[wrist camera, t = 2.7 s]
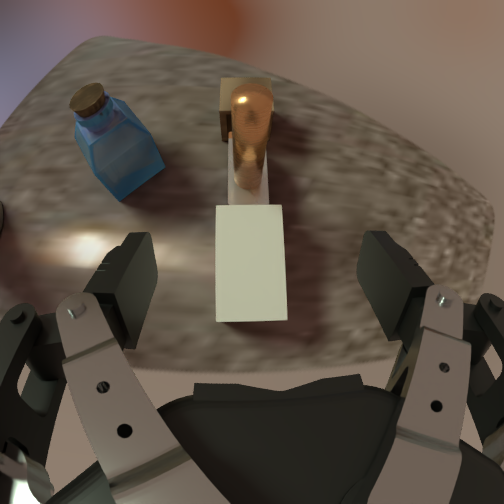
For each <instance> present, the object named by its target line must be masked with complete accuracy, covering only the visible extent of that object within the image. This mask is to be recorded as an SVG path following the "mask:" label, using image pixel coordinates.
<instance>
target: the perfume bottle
mask: <svg viewBox="0 0 504 504" xmlns="http://www.w3.org/2000/svg"><path fill="white" fill-rule="evenodd" d="M69 105H70V108H71V109H72V110H73V111H74V117H75V119H76V120H77V122H76V127H75V139H76V141H77V143H78V145H79V147H80V149H81V151H82V152H83V154H84V156H85V158H86V160H87V162H88V164H89V165H90V167H91V169H92V171H93V173H94V174H95V176H96V177H97V178H98V179H99V180H100V181H101V182H102V183H103V185H104V186H105V187H106V188H107V189H108V190H109V191H110V192H111V193H112V194H113V195H114V197H115V198H116V199H117V200H118V201H119V202H120V201H121V200H122V199H124V198H125V197H126V196H127V195H129V194H130V193H131V192H133V191H134V190H135V189H136V188H138V187H139V186H140V185H142V184H143V183H144V182H146V181H147V180H149V179H150V178H151V177H153V176H154V175H155V174H157V173H158V172H160V171H161V170H162V169H164V168H165V165H164V163H163V160H162V158H161V156H160V154H159V151H158V149H157V147H156V145H155V142H154V140H153V138H152V136H151V134H150V132H149V131H148V130H147V129H146V128H145V126H144V125H143V124H142V123H141V121H140V120H139V119H138V118H137V117H136V115H135V114H134V113H133V112H132V111H131V109H130V108H129V107H128V106H127V104H126V103H125V102H124V101H121V100H118V99H116V98H113V97H110V96H109V94H108V93H107V92H106V91H104V89H103V86H102V85H101V84H100V83H91V84H88V85H86V86H84V87H82V88H81V89H80V90H78V91H77V92H76V93H75V94H74V96H73V97H72V99H71V101H70V104H69Z"/></svg>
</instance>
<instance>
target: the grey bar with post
mask: <svg viewBox="0 0 504 504" xmlns="http://www.w3.org/2000/svg"><path fill="white" fill-rule="evenodd" d="M272 104H273V95H272V93H271V91H270V90H269V89H268V88H266V87H265V86H263V85H260V84H255V83H248V84H243V85H240V86H238V87H237V88H235V89H234V90H233V92H232V94H231V117H232V132H229V146H228V205H269V192H268V174H267V157H266V146H267V139H268V132H269V125H270V118H271V111H272Z"/></svg>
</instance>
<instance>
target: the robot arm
mask: <svg viewBox="0 0 504 504" xmlns="http://www.w3.org/2000/svg"><path fill="white" fill-rule="evenodd" d="M2 223H3V207H2V204H1V202H0V233H1V228H2ZM157 278H158V271H157V265H156V260H155V254H154V249H153V243H152V238H151V235H150V233H149V232H135V233H129V234H128V235H127V237H126V238H125V240H124V241H123V243H122V244H121V246H116V247H115V248H114V249H112V250H111V251H110V252H108V253H107V255H106V256H105V258H104V259H103V261H102V264H100V265H99V267H98V268H97V271H95V273H94V275H93V276H92V278H91V279H90V281H89V283H88V284H87V286H86V288H85V289H84V291H83V292H82V293H76V294H73V295H71V296H69V297H67V298H66V299H64V300H63V301H62V302H61V303H60V304H59V306H58V307H57V310H56V313H51V314H45V315H40V316H38V314H37V312H36V310H35V308H34V307H33V306H32V305H31V304H28V303H23V304H19V305H17V306H15V307H13V308H12V309H10V310H9V311H8V312H7V313H6V314H5V316H4V317H3V319H2V320H1V322H0V504H504V301H503V300H502V299H500V298H499V297H497V296H495V295H493V294H489V293H485V294H482V295H481V297H480V298H479V300H478V302H477V304H476V305H472V304H466V303H463V301H462V299H461V297H460V296H459V295H458V294H457V293H456V292H455V291H454V290H452V289H451V288H449V287H446V286H443V285H435V284H434V283H433V282H432V281H431V279H430V278H429V277H428V276H427V274H426V273H425V272H424V270H423V269H422V268H421V267H420V266H418V263H417V262H416V261H415V259H413V257H412V256H411V255H410V253H409V252H408V251H407V250H406V249H404V248H403V247H401V246H400V245H398V244H397V243H395V241H394V240H393V239H392V238H391V237H390V236H389V234H388V233H387V232H386V231H366V232H365V234H364V237H363V241H362V246H361V250H360V255H359V259H358V263H357V278H358V281H359V283H360V285H361V287H362V289H363V291H364V293H365V294H366V296H367V298H368V300H369V302H370V304H371V306H372V308H373V310H374V312H375V314H376V316H377V318H378V320H379V322H380V324H381V326H382V328H383V331H384V333H385V335H386V337H387V339H388V341H395V340H402V342H403V343H402V345H401V347H400V349H399V352H398V355H397V358H396V361H395V364H394V367H393V369H392V372H391V375H390V377H389V380H388V383H387V385H386V388H385V390H384V389H381V388H377V387H373V386H367V385H363V382H362V379H361V376H360V374H355V375H348V376H341V377H332V378H324V379H320V380H317V381H314V382H311V383H308V384H305V385H302V386H299V387H295V388H293V389H289V390H286V391H273V390H268V389H262V388H256V387H251V386H246V385H240V384H207V383H194V392H193V395H190V396H185V397H182V398H179V399H176V400H174V401H171V402H169V403H167V404H165V405H163V406H161V407H160V408H158V409H157V410H156V409H155V407H154V406H153V404H152V402H151V401H150V399H149V398H148V396H147V394H146V393H145V391H144V390H143V388H142V386H141V384H140V383H139V381H138V379H137V378H136V376H135V374H134V372H133V370H132V369H131V367H130V365H129V363H128V361H127V359H126V358H125V356H124V354H123V349H124V348H126V349H136V345H137V342H138V339H139V336H140V332H141V329H142V326H143V323H144V320H145V317H146V314H147V311H148V308H149V305H150V302H151V299H152V296H153V293H154V290H155V287H156V284H157ZM491 344H492V345H493V347H494V349H495V350H496V352H497V354H498V356H499V357H500V359H501V361H502V372H501V375H500V376H499V377H498V378H497V380H495V378H494V376H493V374H492V372H491V370H490V368H489V366H488V364H487V362H486V361H485V359H484V357H483V356H484V355H485V353H486V352H487V350H488V349H489V347H490V346H491ZM25 363H26V365H27V366H28V367H29V368H30V370H31V371H30V373H29V376H28V379H27V381H26V383H25V386H24V389H23V391H22V394H21V397H20V395H19V393H18V389H17V382H18V379H19V376H20V374H21V372H22V369H23V367H24V365H25ZM66 383H68V386H69V389H70V392H71V395H72V398H73V401H74V404H75V407H76V410H77V412H78V415H79V418H80V420H81V423H82V425H83V428H84V430H85V432H86V435H87V437H88V439H89V442H90V444H91V446H92V449H93V451H94V453H95V455H96V457H97V459H98V460H97V461H96V462H95V463H93V464H92V465H91V466H90V467H89V468H87V469H86V470H85V471H84V472H83V473H81V474H80V475H79V476H78V477H76V478H75V479H74V480H73V481H71V482H70V483H69V484H68V485H66V486H65V487H64V488H62V489H61V490H60V491H59V492H57V493H56V494H55V495H53V494H54V487H53V485H52V484H51V482H50V478H49V475H48V473H47V471H46V469H45V465H46V460H47V454H48V450H49V445H50V441H51V436H52V433H53V429H54V425H55V421H56V417H57V413H58V410H59V406H60V403H61V399H62V396H63V393H64V390H65V386H66ZM466 402H467V405H468V407H469V410H470V412H471V415H472V418H473V420H474V423H475V426H476V428H477V431H478V434H479V437H480V440H481V443H482V446H483V452H482V453H481V452H479V451H478V450H476V449H475V448H473V447H472V446H470V445H469V444H467V443H466V442H464V441H463V440H461V439H460V435H461V430H462V424H463V419H464V414H465V407H466Z"/></svg>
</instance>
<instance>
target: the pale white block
mask: <svg viewBox="0 0 504 504" xmlns="http://www.w3.org/2000/svg"><path fill="white" fill-rule="evenodd" d="M276 320H287V296H286V273H285V253H284V235H283V219H282V205H216V322H243V321H276Z"/></svg>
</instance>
